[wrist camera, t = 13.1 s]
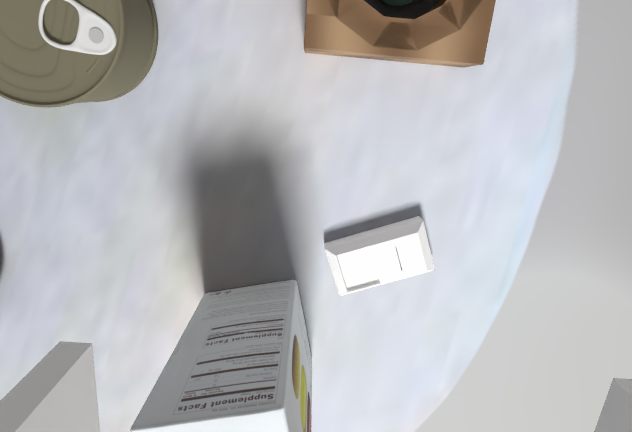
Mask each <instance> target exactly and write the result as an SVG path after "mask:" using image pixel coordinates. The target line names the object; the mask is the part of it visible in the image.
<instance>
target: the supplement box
mask: <svg viewBox="0 0 632 432" xmlns="http://www.w3.org/2000/svg"><path fill="white" fill-rule="evenodd" d="M311 405H312V357H311V352H310V347H309V341H308V336H307V330H306V325H305V320H304V315H303V310H302V305H301V299H300V294H299V289H298V285H297V281H296V280H287V281H280V282H273V283H267V284H260V285H254V286H248V287H241V288H235V289H228V290H222V291H215V292H209V293H205V294H204V296H203V298H202V300H201V301H200V303H199V305H198V307H197V309H196V311H195V313H194V314H193V316H192V318H191V320H190V322H189V323H188V325H187V327H186V329H185V331H184V333H183V334H182V336H181V338H180V340H179V342H178V344H177V346H176V348H175V349H174V351H173V353H172V355H171V357H170V358H169V360H168V362H167V364H166V366H165V367H164V369H163V371H162V373H161V375H160V377H159V378H158V380H157V382H156V384H155V386H154V388H153V389H152V391H151V393H150V395H149V396H148V398H147V400H146V402H145V404H144V405H143V407H142V409H141V411H140V413H139V414H138V416H137V418H136V420H135V422H134V424H133V425H132V427H131V432H311Z"/></svg>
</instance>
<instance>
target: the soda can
mask: <svg viewBox="0 0 632 432" xmlns="http://www.w3.org/2000/svg"><path fill="white" fill-rule="evenodd" d="M381 1H382V2H384V3H386V4H389V5H395V6H400V5H406V4H409V3H411V2H413V1H414V0H381Z"/></svg>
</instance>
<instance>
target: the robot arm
mask: <svg viewBox="0 0 632 432" xmlns="http://www.w3.org/2000/svg"><path fill="white" fill-rule="evenodd" d="M0 432H100V427H99V416H98V404H97V393H96V382H95V371H94V360H93V348H92V344H90V343H75V342H59V343H58V344H57V345H56V346H55V347H54V348H53V349H52V350H51V351H50V352H49V353H48V354H47V355H46V356H45V357H44V358H43V359H42V360H41V361H40V362H39V363H38V364H37V365H36V366H35V367H34V368H33V369H32V370H31V371H30V372H29V373H28V374H27V375H26V376H25V377H24V378H23V379H22V380H21V381H20V382H19V383H18V384H17V385H16V386H15V387H14V388H13V389H12V390H11V391H10V392H9V393H8V394H7V395H6V396H5V397H4V398H3V399H2V400H1V401H0ZM594 432H632V379H618V378H613V381H612V384H611V386H610V389H609V392H608V395H607V398H606V400H605V403H604V406H603V409H602V412H601V414H600V417H599V420H598V423H597V426H596V428H595V431H594Z"/></svg>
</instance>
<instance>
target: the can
mask: <svg viewBox="0 0 632 432" xmlns="http://www.w3.org/2000/svg"><path fill="white" fill-rule="evenodd" d="M157 45H158V24H157V18H156V13H155V10H154V6H153V3H152V1H151V0H0V96H2V97H4V98H6V99H8V100H11V101H13V102H17V103H20V104H23V105H28V106H34V107H59V106H65V105H69V104H73V103H81V102H100V101H108V100H112V99H115V98H118V97H121V96H123V95H125V94H127V93H128V92H130V91H131V90H133V89H134V88H135V87H136V86H137V85H139V84H140V83H141V81H142V80H143V79H144V78H145V76H146V75H147V73H148V72H149V70H150V68H151V66H152V64H153V61H154V58H155V55H156V51H157Z"/></svg>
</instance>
